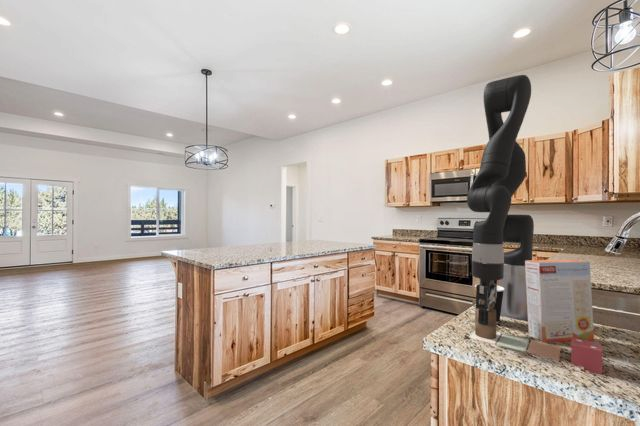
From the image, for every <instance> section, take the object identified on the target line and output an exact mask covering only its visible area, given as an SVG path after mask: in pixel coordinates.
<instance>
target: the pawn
mask: <svg viewBox="0 0 640 426" xmlns="http://www.w3.org/2000/svg"><path fill="white" fill-rule="evenodd" d="M481 304H482V305H485V302H481ZM493 308H494V302H493V300H492V303H490V305H489V320H488V325H482V324H479V323H478V314H479V309H477V308H476V307H475V308H474V309H475V310H474V311H475V312H474V313H475V314H474V315H475V316H474V318H475V319H474V322H475V323H474V324H475V325H474V328H475V329H474V331H475V334H476V335H477V336H479V337H481V338H486V339H495V338H496V332H497V323H496V310H495V309H493Z"/></svg>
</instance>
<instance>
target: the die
mask: <svg viewBox="0 0 640 426" xmlns="http://www.w3.org/2000/svg"><path fill="white" fill-rule="evenodd" d="M570 343H571V348H570V350H571V354H570V357H571V359H570V365H575V366H579V367H582V368H583V370H584V371H587V372H591V373H594V374H598V375H603V348H602V344H601V342H596V341H587V340H582V339H578V338H573V337H572V342H570Z"/></svg>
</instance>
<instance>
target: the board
mask: <svg viewBox="0 0 640 426" xmlns="http://www.w3.org/2000/svg"><path fill="white" fill-rule="evenodd" d="M501 334H502V335H501ZM468 338H470V339H473V340H478V341H480V342H485V343H488V344H491V345H492V344H493V345H495V344H496V345H497V346H501V347H504V348H509V349H512V350H516V351H520V352H523V353H525V352H526V351H527V353H528V354H532V355H536V356H540V357H543V358H548V359H551V360H555V361H560V356H561V347H562V346H558V345H556V344H555V345H554V344H550V343H547V342H543V341H538V340H533V339H531V340H530V339H528V338H525V337H521V336H515V335H513V334H512V335H511V334H508V333H507V334H506V333H502V332H499V331H496V338H495V339H486V338H481V337H479V336H477V335H476V334H475V330H474V331H473V332H472V334H471V335H469V337H468ZM529 341H530V342H529ZM527 347H528V349H527Z"/></svg>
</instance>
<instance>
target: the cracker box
mask: <svg viewBox="0 0 640 426" xmlns="http://www.w3.org/2000/svg"><path fill="white" fill-rule="evenodd" d="M525 273H526V294H527V314H528V320H527V329H528V332H527V333H528V334H529V335H530V336H532V337H534V338H535V339H537V340H539V341H540V342H542V343H557V342H559V343H561V342H562V343H563V342H566V343H567V342H570V343H572V337H573V338H578V339H582V340H587V341H592V342H595V332H594V330H595V328H594V316H593V315H594V314H593V299H592V298H593V297H592V296H593V295H592V293H593V292H592V282H591V281H592V280H591V279H592V278H591V263H590V261H585V260H579V259H532V260H526V261H525Z"/></svg>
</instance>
